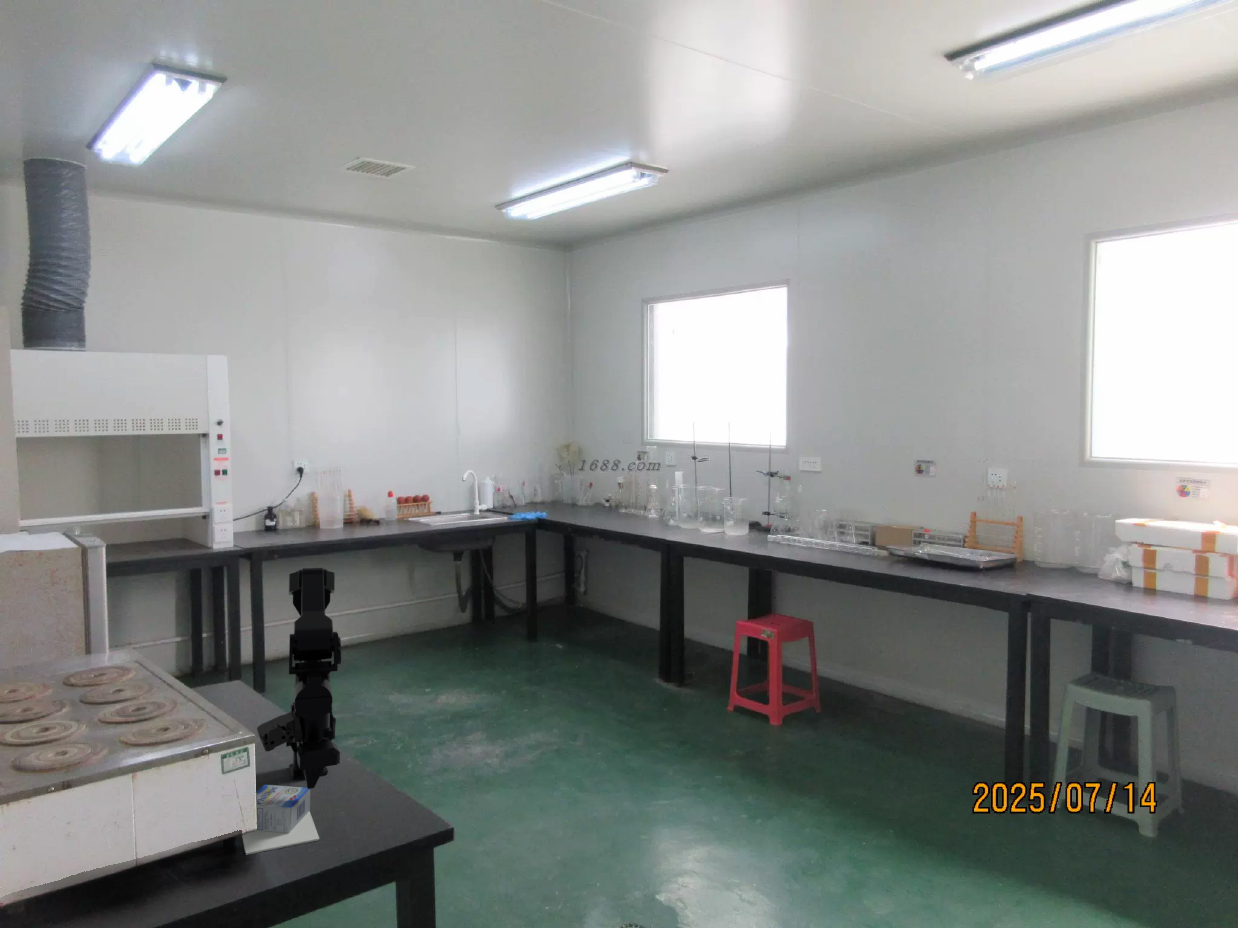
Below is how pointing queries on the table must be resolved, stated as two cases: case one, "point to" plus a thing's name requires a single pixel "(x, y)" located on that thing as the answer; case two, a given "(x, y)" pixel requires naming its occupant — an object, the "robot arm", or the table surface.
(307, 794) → the medicine box
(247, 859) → the table surface
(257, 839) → the mat
